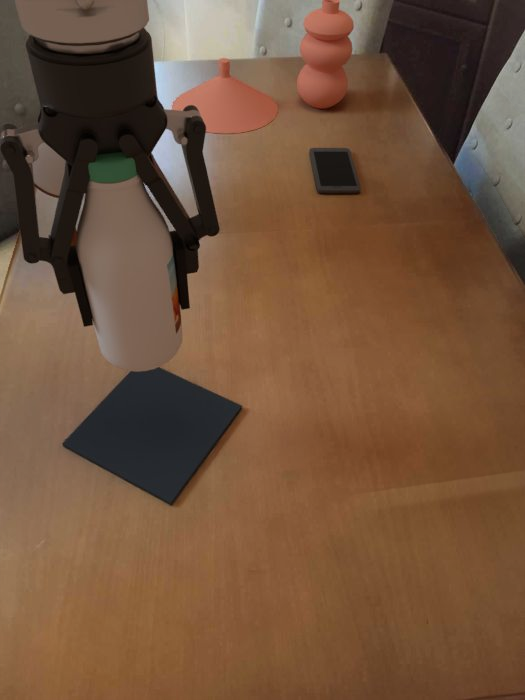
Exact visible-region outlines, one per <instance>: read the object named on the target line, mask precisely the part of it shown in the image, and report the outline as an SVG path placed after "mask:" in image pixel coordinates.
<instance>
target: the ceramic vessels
mask: <svg viewBox="0 0 525 700" xmlns="http://www.w3.org/2000/svg"><path fill="white" fill-rule="evenodd" d="M340 2H341V0H321V8H316V9H314V10H312V11H310V12H309V13H308V14H306V15H305V17H304V20H303V23H302V26H303V28H304V30H305V32H306V33H305V34H304V36H303V37H302V39H301V40H300V44H299V54H300V56H301V58H302V60H303V62H304V63H306V64H305V65H303V67H302V68H301V69H300V70H299V74H298V76H297V81H296V86H297V87H296V88H297V89H296V90H297V92H298V95H299V97H300V98H301V99H302V100H303V101H304V102H305V103H306V104H307V105H309V106H310V107H312V108H315V109H323V110H324V109H329V108H331V107H333V106H335V105H337V104H338V103H340V102H341V101H342V100H343V99H344V97H345V95H346V94H347V91H348V87H349V85H348V84H349V81H348V80H349V79H348V75H347V72H346V70H345V69H344V67H343V66H345V65H346V64H347V63H348V62H349V61H350V59H351V57H352V54H353V43H352V41H351V38H350V37H349V36H350V35H351V33H352V32H353V30H354V28H355V27H354V26H355V25H354V19H353V18H352V16H350V15H349V14H348V13H347V12H345V11H343V10H341V9H340ZM217 68H218V75H217V76H215V77H212V78H210V79H209V80H206V81H204V82H203V83H201V84H198V85H197V86H195V87H193V88H191V89H189V90H186V91H185V92H182V93H181V94H179V95H178V96H179V97H178V96H177V97H176V98H175V99H176V100H175V99H174V100H175V101H174V100H173V101H172V103H173V105H172V104H171V106H172V110H178V111H183V109H184V108H185V107H186V106H188V105H193V106H195V107H197V108H198V110H199V113H200V114H201V117H202V119H203V121H204V123H205V125H206V133H211V134H226V135H227V134H239V133H248V132H252V131H254V130H258V129H260V128H263V127H265V126H266V125H268V124H270V123H272V121H273V120H275V119H276V117H277V115H278V113H279V107H278V104H277V102H276V101H275V100H274V99H273V98H272V97H271V96H270V95H269V94H267V93H266V92H263V91H261V90H260V89H257V88H255V87H253V86H251V85H249V84H248V83H245V82H243V81H242V80H239V79H238V78H236V77H234V76H232V75H231V73H230V70H231V69H230V68H231V63H230V59H229V58H228V57H227V58H226V57H222V58H219V59H218V67H217Z"/></svg>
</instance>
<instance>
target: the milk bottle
mask: <svg viewBox="0 0 525 700" xmlns="http://www.w3.org/2000/svg"><path fill="white" fill-rule="evenodd" d="M88 169H89V174H90V179H89V183H88V187H87V191H86V193H84V200H83V206H82V209H81V213H80V216H79V218H78V219H79V220H78V222H77V226H76V230H77V236H76V246H77V255H78V260H79V265H80V271H81V275H82V279H83V283H84V287H85V292H86V296H87V300H88V304H89V308H90V312H91V316H92V322H93V327H94V331H95V337H96V340H97V343H98V347H99V350H100V352H101V354H102V356H103V358H104V359H105V360H106V361H108V363H110V364H111V365H113V366H114V367H116V368H118V369H120V370H123V371H127V372H130V371H136V372H139V371H148V370H152V369H155V368H158V367H160V368H161V367H163V366H164V365H166V364H167V363H169V362H170V361H171V360H173V359H174V357H175V356H176V355H177V354H178V353H179V350H180V348H181V347H182V343H183V322H182V312H181V306H180V302H179V292H178V283H177V274H176V265H175V257H174V250H173V244H172V239H171V235H170V231H171V230H170V229H169V226H168V223H167V221H166V219H165V217H164V215H163V214H162V212H161V211H160V209H159V208H158V206H157V205H156V204H155V202H154V200H153V199H152V196H150V194H149V192H148V189H147V187H146V185H145V184H144V183H143V181H142V179H141V178H140V176H139V175H138V173H137V172H136V166H135V161H134V159H133V158H127V157H126V156H125V154H124V153H123V152H118V153H109V154H101V155H97V156H96V159H95V162H93V163H89V165H88Z"/></svg>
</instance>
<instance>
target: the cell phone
mask: <svg viewBox="0 0 525 700" xmlns="http://www.w3.org/2000/svg"><path fill="white" fill-rule="evenodd" d="M308 155H309V159H310V164H311V169H312V174H313V179H314V184H315V189H316V192H317V193H318V194H358V193H360V192H361V191H362V190H361V189H362V187H361V184H360V180H359V176H358V173H357V169H356V166H355V163H354V160H353V156H352V153H351V149H350V148H347V147H310V148H309V152H308Z"/></svg>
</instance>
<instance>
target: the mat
mask: <svg viewBox="0 0 525 700" xmlns="http://www.w3.org/2000/svg"><path fill="white" fill-rule="evenodd" d="M242 410H243V405H241V404H240V403H237V402H235V401H232V400H231V399H228V398H226V397H224V396H223V395H220V394H218V393H216V392H213V391H211V390H210V389H207V388H204V386H201V385H198V384H196V383H194V382H192V381H189V380H187V379H185V378H183V377H181V376H179V375H176V374H174V373H172V372H171V371H168V370H166V369H163V368H161V367H158V368H155V369H152V370H148V371H139V372H136V371H128V373H127V374H126V375H125V376H124V377H123V378H122V379H121V380H120V382H119V383H117V385H116V386H115V387H114V388H113V389H112V390H111V391H110V392H109V393H108V394H107V395H106V397H104V398H103V399H102V400H101V402H100V403H99V404H98V405H97V406H96V407H95V408H94V409H93V410H92V411H91V413H89V414H88V415H87V417H86V418H84V419H83V421H82V422H81V423H80V424H79V425H77V427H75V428H76V429H74V430H73V432H71V434H70V435H68V437H67V438H66V439H65V440H64V441H63V442H62V443H61V445H62V447H63V448H65V449H67V450H68V451H70V452H72V453H74V454H76V455H77V456H79V457H81V458H83V459H85V460H87V461H89V462H91V463H92V464H93V465H96V466H98V467H100V468H102V469H103V470H105V471H107V472H109V473H110V474H113V475H114V476H116V477H117V478H120V479H122V480H123V481H125V482H127V483H129V484H131V485H132V486H134V487H136V488H138V489H140V490H142V491H144V492H145V493H147V494H149V495H150V496H153V497H154V498H156V499H158V500H160V501H162V502H164V503H166V504H168V505H169V506H171V507H172V505H174V503H175V502H176V501H177V499H178V498H179V496H180V495H181V494H182V492H183V491H184V489H185V488H186V486H187V485H188V484H189V483H190V481H191V480H192V478H193V477H194V476H195V474H196V473H197V471H198V470H199V469H200V467H201V466H202V465H203V463H204V462H205V461H206V459H207V458H208V456H209V455H210V454H211V452H212V451H213V449H214V448H215V447H216V445H217V444H219V443H218V442H219V441H220V440H221V438H223V436H224V435H225V433H226V431H227V430H228V429H229V428H230V426H231V425H232V423H233V422H234V421H235V419H236V418H237V416H238V415H239V414H240V412H241V411H242Z"/></svg>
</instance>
